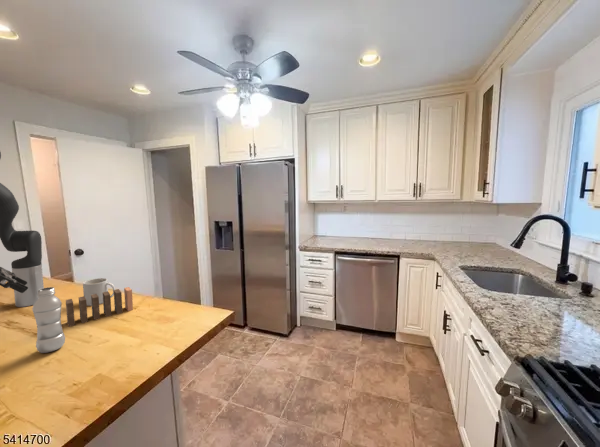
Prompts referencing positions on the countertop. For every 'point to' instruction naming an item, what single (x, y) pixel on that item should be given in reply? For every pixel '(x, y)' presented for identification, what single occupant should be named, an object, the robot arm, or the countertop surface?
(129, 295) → the domino
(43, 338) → the plastic bottle
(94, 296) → the domino
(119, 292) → the domino
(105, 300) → the domino
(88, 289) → the mug
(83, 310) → the domino
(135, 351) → the countertop surface
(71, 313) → the domino
